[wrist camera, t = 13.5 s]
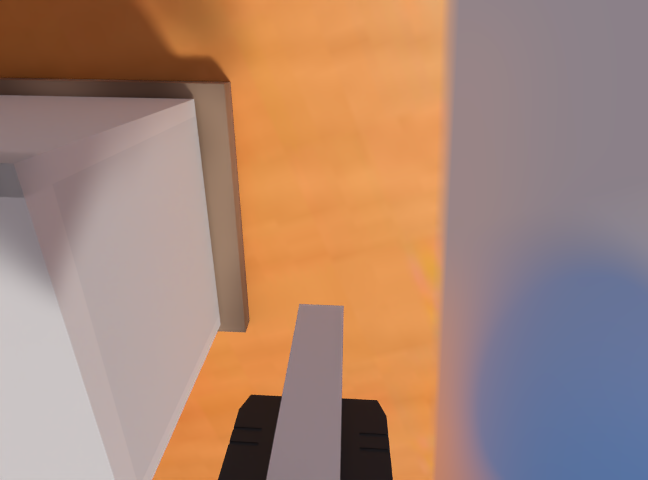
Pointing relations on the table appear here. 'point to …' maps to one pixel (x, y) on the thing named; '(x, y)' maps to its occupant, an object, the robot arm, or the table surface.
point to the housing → (99, 283)
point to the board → (216, 168)
